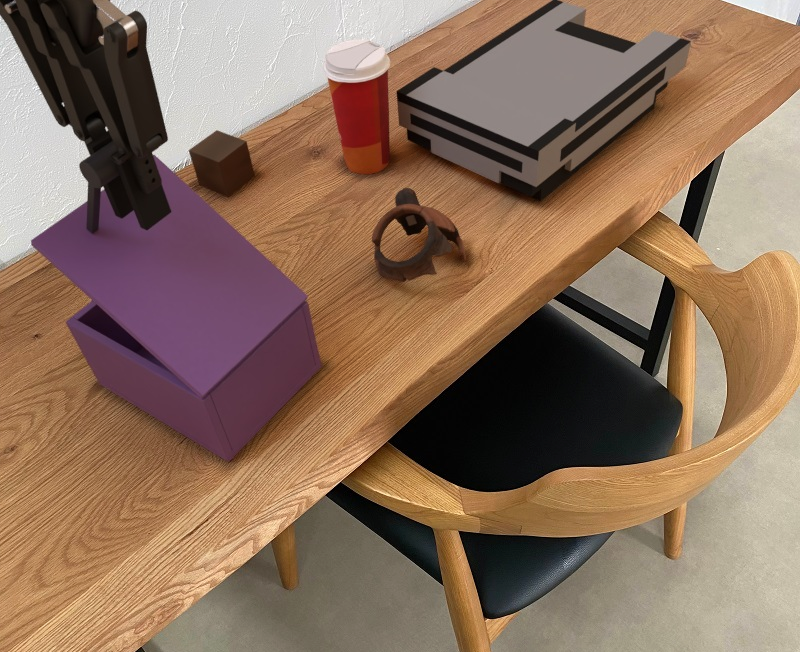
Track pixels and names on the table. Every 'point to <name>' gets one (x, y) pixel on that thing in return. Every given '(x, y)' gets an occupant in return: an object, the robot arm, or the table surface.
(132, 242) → the purple box lid
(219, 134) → the block
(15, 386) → the table surface
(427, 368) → the table surface
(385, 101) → the paper cup
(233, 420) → the file box
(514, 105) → the game console
